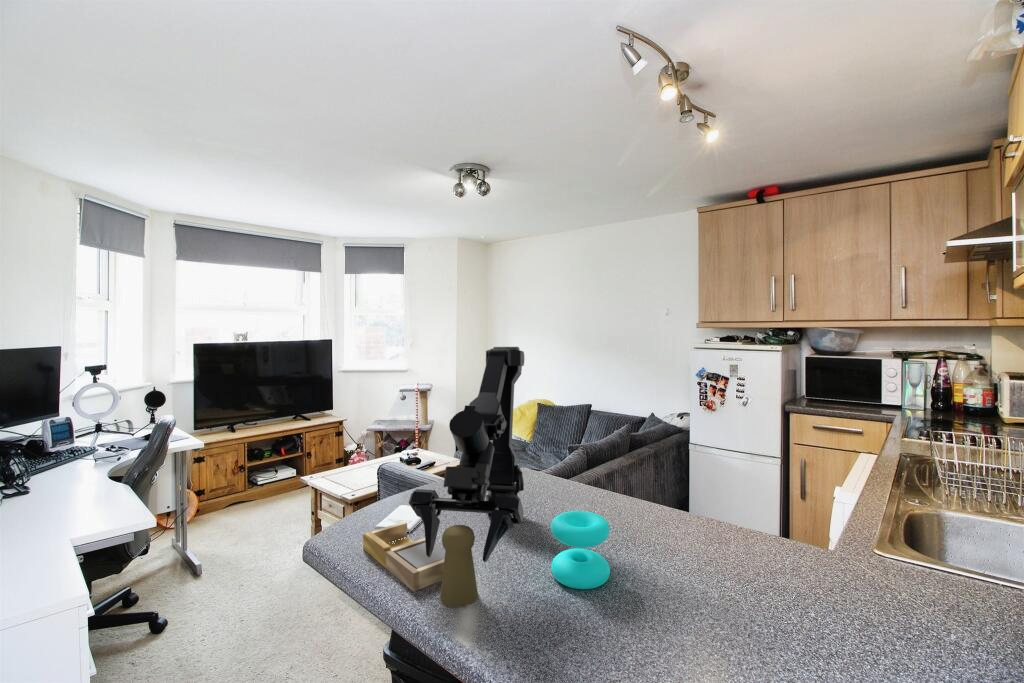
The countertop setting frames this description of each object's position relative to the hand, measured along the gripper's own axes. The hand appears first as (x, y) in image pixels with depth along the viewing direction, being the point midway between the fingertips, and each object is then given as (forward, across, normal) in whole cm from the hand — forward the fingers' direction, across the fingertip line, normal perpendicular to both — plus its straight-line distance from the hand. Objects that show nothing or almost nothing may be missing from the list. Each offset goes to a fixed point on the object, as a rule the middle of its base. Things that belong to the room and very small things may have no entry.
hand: (455, 558), depth 74 cm
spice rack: (-3, -12, +13) cm, 18 cm away
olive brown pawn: (+4, 0, +6) cm, 7 cm away
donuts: (-3, +19, +13) cm, 23 cm away
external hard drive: (-15, -22, +26) cm, 37 cm away
